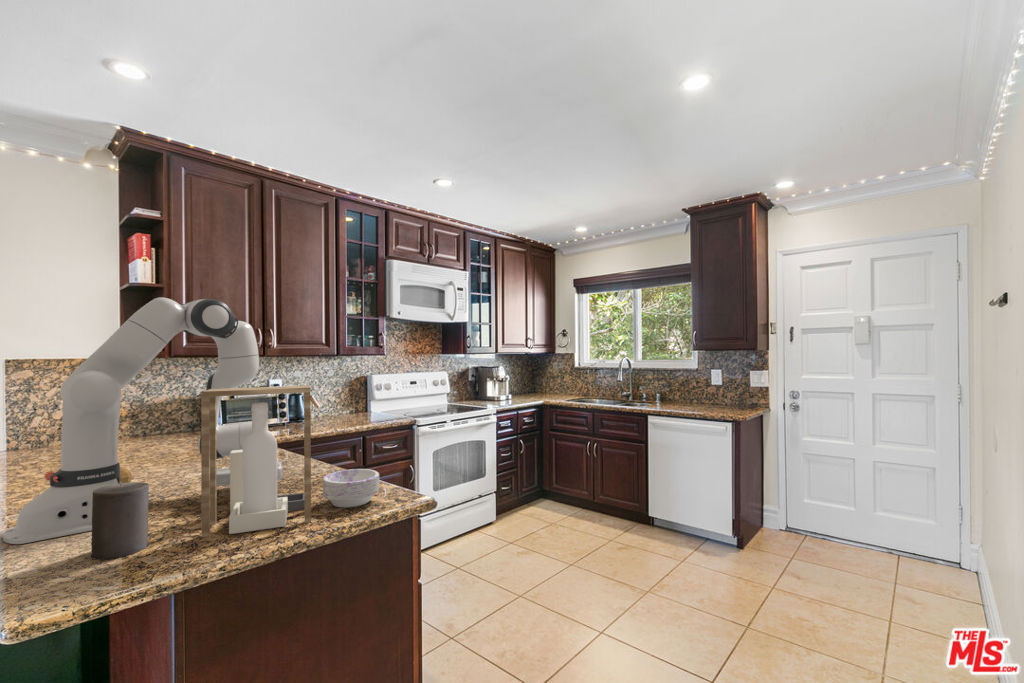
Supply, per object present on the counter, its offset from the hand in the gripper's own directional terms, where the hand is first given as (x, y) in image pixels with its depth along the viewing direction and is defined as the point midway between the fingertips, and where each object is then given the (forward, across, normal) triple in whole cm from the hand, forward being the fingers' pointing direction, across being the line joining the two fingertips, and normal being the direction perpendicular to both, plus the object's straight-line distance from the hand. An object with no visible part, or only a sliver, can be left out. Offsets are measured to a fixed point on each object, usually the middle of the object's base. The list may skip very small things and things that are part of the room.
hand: (240, 481), depth 132 cm
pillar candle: (+21, -20, +8) cm, 30 cm away
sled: (+10, +5, +7) cm, 14 cm away
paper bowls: (+8, +28, +8) cm, 30 cm away
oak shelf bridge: (+15, +6, +8) cm, 18 cm away
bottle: (+15, +6, +8) cm, 18 cm away
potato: (-39, -40, +8) cm, 57 cm away
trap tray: (+4, +10, +8) cm, 13 cm away
